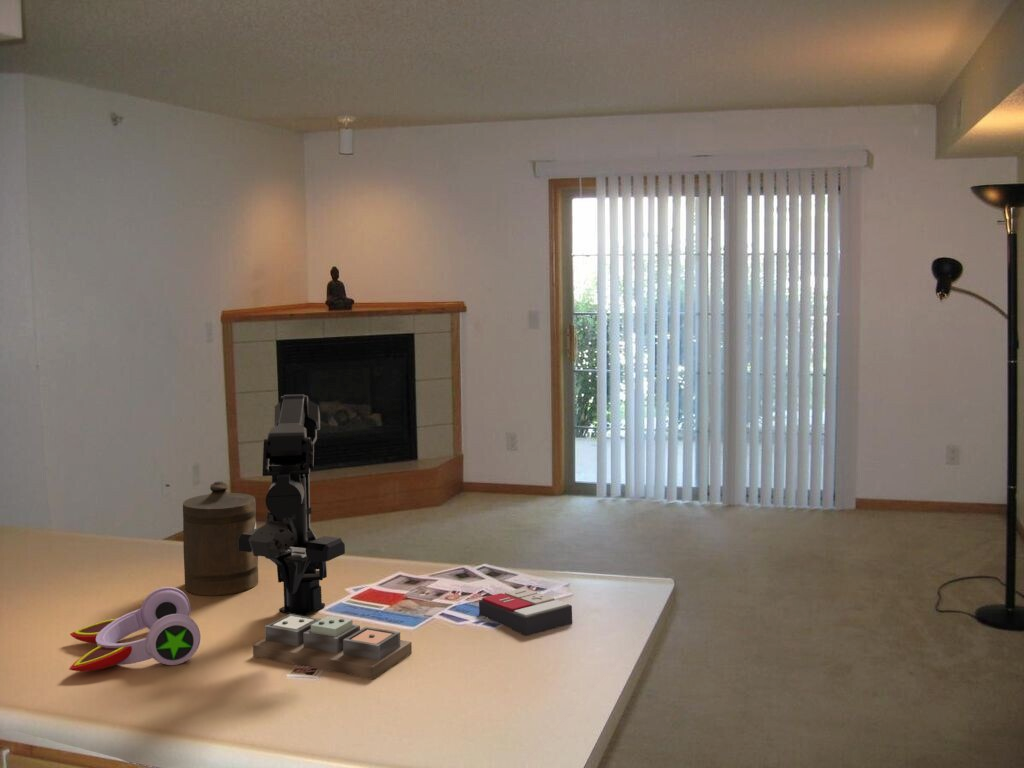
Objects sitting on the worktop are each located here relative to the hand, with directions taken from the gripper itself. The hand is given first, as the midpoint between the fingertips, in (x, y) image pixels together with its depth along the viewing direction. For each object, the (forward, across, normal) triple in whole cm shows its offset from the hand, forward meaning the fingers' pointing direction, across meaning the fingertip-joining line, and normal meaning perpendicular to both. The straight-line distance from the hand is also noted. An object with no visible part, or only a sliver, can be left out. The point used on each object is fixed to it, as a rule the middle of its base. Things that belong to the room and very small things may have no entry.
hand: (292, 593), depth 172 cm
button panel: (+10, +8, 0) cm, 13 cm away
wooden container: (+10, -36, +23) cm, 44 cm away
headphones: (+10, -25, -12) cm, 29 cm away
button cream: (+7, 0, 0) cm, 7 cm away
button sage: (+6, +8, 0) cm, 10 cm away
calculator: (+10, +30, +30) cm, 44 cm away
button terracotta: (+7, +16, 0) cm, 18 cm away
